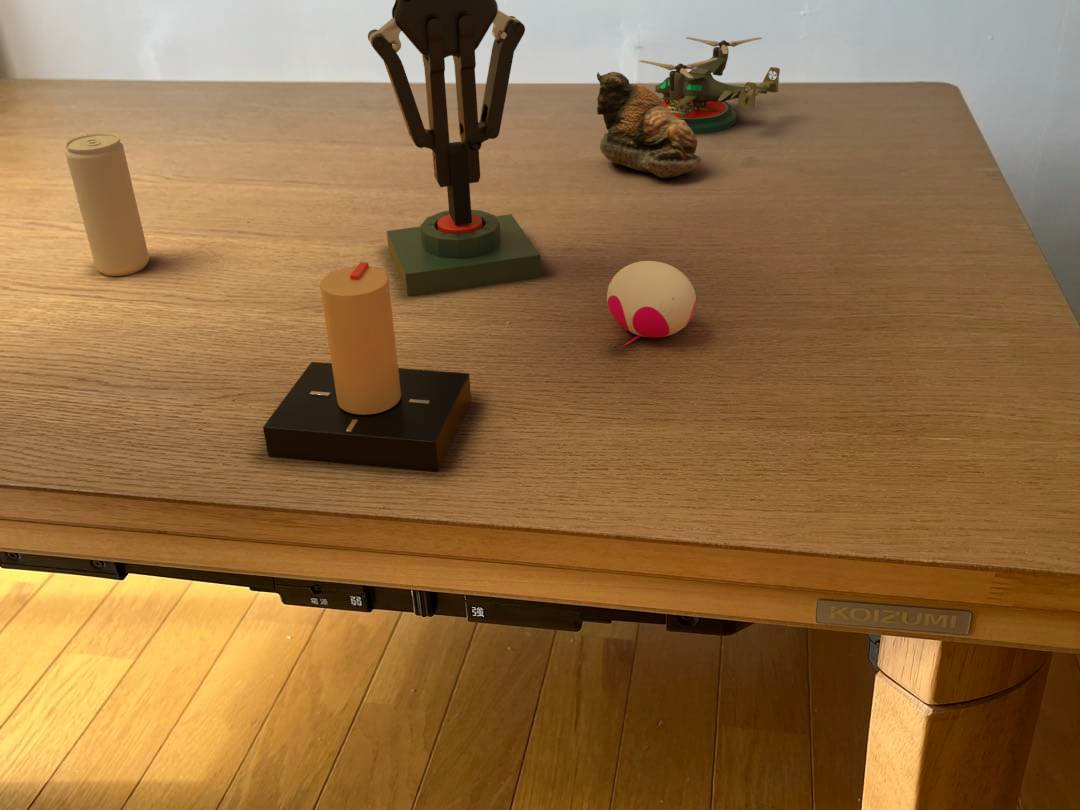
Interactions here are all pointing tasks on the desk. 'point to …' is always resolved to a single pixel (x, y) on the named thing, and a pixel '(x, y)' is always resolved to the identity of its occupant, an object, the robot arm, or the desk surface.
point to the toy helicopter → (709, 90)
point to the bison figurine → (643, 130)
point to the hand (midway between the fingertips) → (460, 217)
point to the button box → (462, 255)
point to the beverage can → (107, 203)
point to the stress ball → (651, 299)
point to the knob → (361, 339)
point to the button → (459, 225)
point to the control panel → (370, 422)
